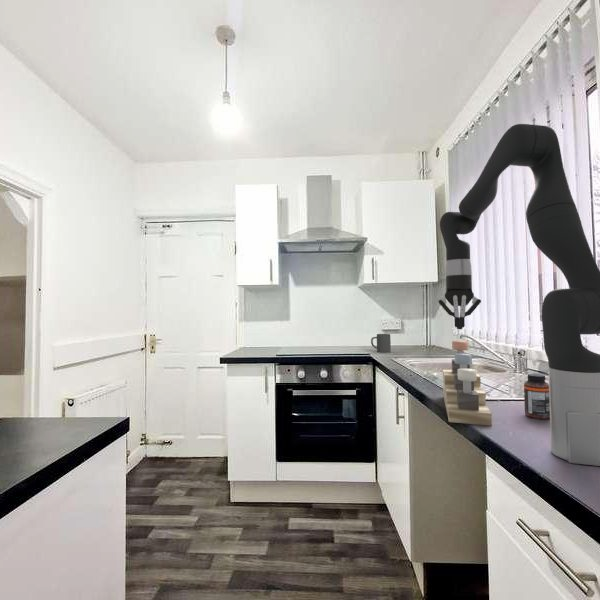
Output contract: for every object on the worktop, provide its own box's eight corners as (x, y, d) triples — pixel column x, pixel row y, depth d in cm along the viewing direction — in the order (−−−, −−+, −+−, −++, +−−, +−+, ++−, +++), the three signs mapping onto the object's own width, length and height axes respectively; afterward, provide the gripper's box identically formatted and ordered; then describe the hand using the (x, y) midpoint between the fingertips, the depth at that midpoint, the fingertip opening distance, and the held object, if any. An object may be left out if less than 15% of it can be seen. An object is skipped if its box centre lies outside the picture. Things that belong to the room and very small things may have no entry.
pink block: (469, 363, 112) (468, 342, 112) (453, 363, 114) (452, 341, 114) (467, 361, 116) (467, 340, 117) (452, 361, 118) (451, 340, 118)
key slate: (473, 379, 103) (472, 355, 103) (455, 378, 105) (455, 355, 105) (471, 376, 107) (470, 353, 108) (454, 375, 109) (454, 353, 109)
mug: (387, 351, 252) (386, 333, 253) (393, 352, 243) (392, 334, 244) (368, 351, 250) (368, 334, 250) (374, 353, 241) (373, 335, 241)
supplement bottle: (526, 412, 103) (525, 371, 103) (551, 415, 99) (550, 374, 99) (523, 417, 98) (521, 374, 98) (549, 421, 94) (548, 377, 95)
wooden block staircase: (491, 425, 91) (490, 373, 92) (448, 422, 95) (447, 371, 95) (476, 399, 118) (475, 358, 118) (443, 396, 121) (442, 357, 121)
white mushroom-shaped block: (478, 397, 94) (477, 371, 95) (458, 396, 96) (458, 370, 96) (475, 393, 99) (475, 368, 99) (457, 392, 100) (456, 368, 100)
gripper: (436, 274, 114) (437, 329, 114) (483, 272, 110) (484, 330, 110) (435, 276, 121) (437, 328, 121) (479, 274, 117) (481, 328, 117)
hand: (459, 329), depth 115 cm, fingers closed
